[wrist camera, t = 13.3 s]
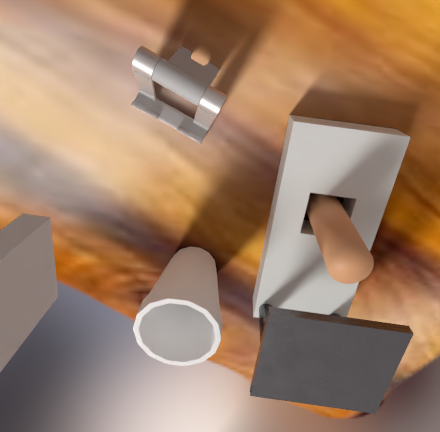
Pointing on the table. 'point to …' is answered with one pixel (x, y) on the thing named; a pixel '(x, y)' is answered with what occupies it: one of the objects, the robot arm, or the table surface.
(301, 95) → the table surface
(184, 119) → the portable electronic device stand
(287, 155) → the board
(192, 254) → the foam cup
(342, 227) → the peg
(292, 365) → the dark grey l-shaped piece
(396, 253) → the table surface
